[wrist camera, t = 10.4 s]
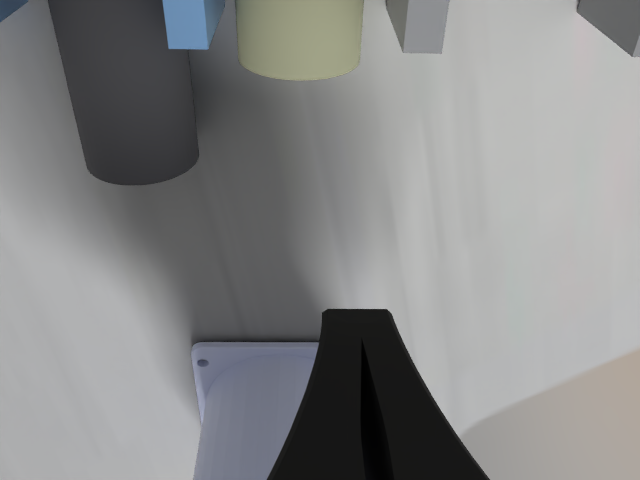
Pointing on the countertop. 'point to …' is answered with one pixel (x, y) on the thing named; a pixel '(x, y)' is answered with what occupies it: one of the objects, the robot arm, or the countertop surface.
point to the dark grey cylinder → (127, 89)
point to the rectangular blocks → (406, 16)
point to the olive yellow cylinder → (299, 37)
